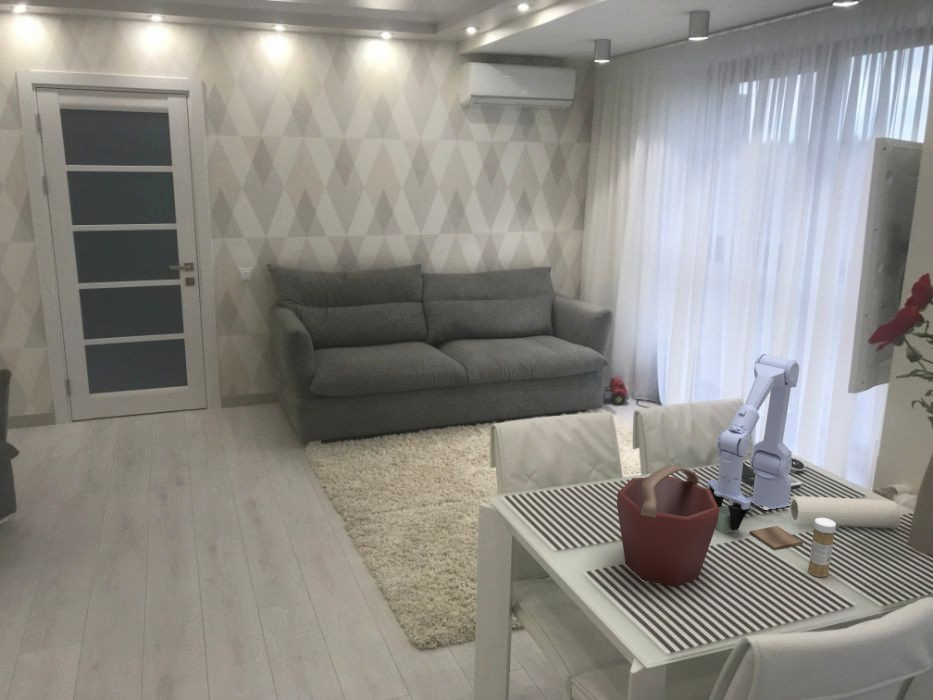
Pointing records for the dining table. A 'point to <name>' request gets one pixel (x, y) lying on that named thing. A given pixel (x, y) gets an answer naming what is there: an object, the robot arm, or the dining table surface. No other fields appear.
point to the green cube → (724, 520)
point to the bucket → (666, 526)
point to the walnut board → (776, 537)
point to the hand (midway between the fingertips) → (724, 522)
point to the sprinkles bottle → (821, 547)
